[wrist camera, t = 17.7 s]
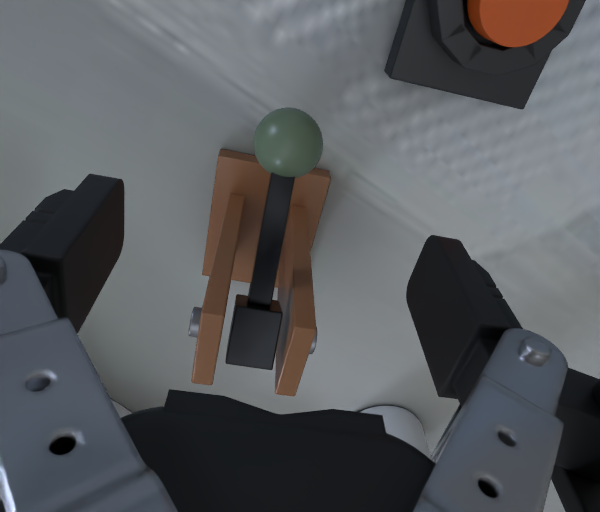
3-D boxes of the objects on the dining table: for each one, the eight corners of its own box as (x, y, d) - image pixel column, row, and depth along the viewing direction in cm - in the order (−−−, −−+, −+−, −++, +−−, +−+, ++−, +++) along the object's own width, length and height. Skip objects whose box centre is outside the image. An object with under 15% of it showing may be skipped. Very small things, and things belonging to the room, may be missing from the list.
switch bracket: (220, 148, 29) (181, 263, 18) (329, 170, 30) (353, 292, 19) (204, 265, 33) (165, 412, 23) (299, 281, 34) (304, 429, 24)
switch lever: (259, 107, 23) (261, 94, 19) (322, 121, 23) (335, 110, 20) (217, 342, 24) (213, 366, 21) (278, 351, 24) (283, 375, 21)
